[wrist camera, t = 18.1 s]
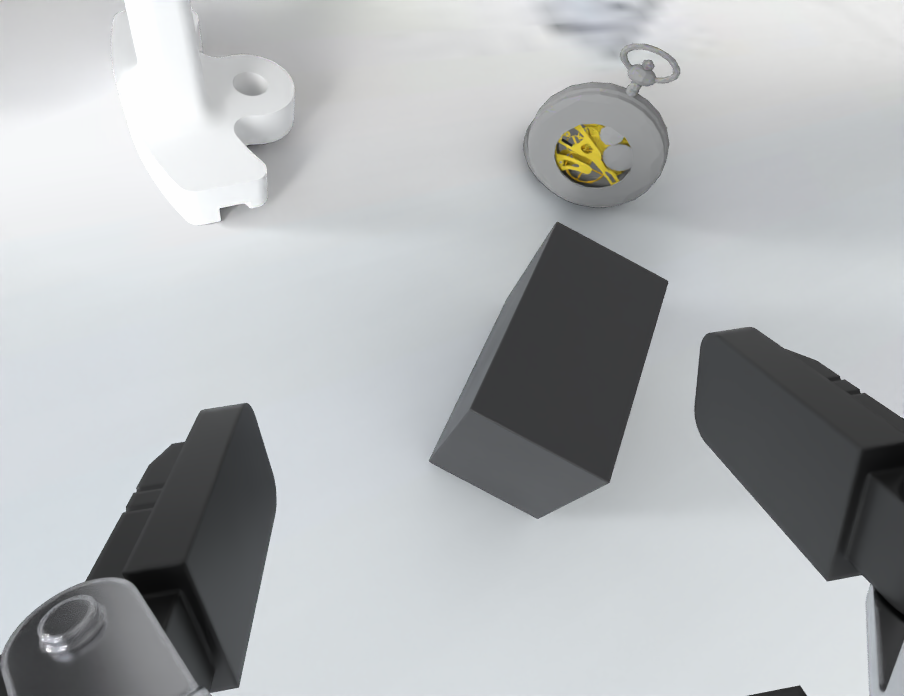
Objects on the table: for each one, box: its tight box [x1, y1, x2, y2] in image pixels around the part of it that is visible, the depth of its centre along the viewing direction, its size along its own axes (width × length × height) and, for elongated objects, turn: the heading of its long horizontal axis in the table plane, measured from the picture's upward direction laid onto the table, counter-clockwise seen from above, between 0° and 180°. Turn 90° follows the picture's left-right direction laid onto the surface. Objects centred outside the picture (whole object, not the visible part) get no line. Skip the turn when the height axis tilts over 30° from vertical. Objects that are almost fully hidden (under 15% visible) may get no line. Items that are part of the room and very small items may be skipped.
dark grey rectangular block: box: [429, 222, 668, 519], centre depth 23 cm, size 6×5×9 cm
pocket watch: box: [523, 44, 680, 207], centre depth 29 cm, size 8×8×10 cm
